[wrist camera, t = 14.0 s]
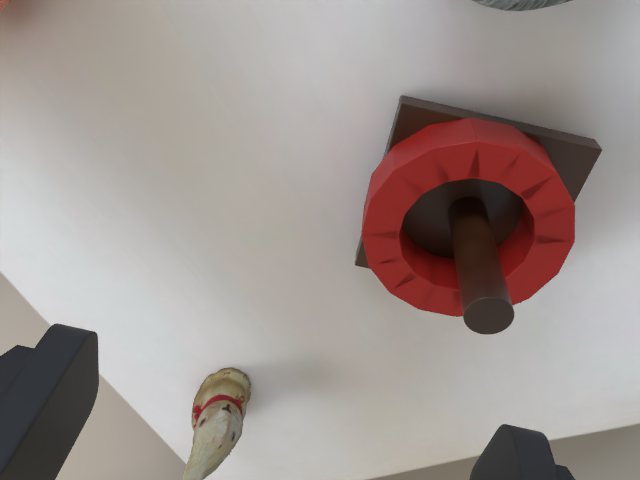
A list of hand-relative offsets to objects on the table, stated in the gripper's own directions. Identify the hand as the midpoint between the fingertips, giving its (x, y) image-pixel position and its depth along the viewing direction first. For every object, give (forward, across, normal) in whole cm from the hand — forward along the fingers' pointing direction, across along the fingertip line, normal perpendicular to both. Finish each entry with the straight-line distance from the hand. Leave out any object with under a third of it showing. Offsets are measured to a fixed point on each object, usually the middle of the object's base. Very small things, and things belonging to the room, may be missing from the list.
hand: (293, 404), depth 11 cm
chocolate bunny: (+26, +4, +32) cm, 41 cm away
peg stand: (+25, -10, +8) cm, 28 cm away
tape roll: (+24, -9, +7) cm, 27 cm away
